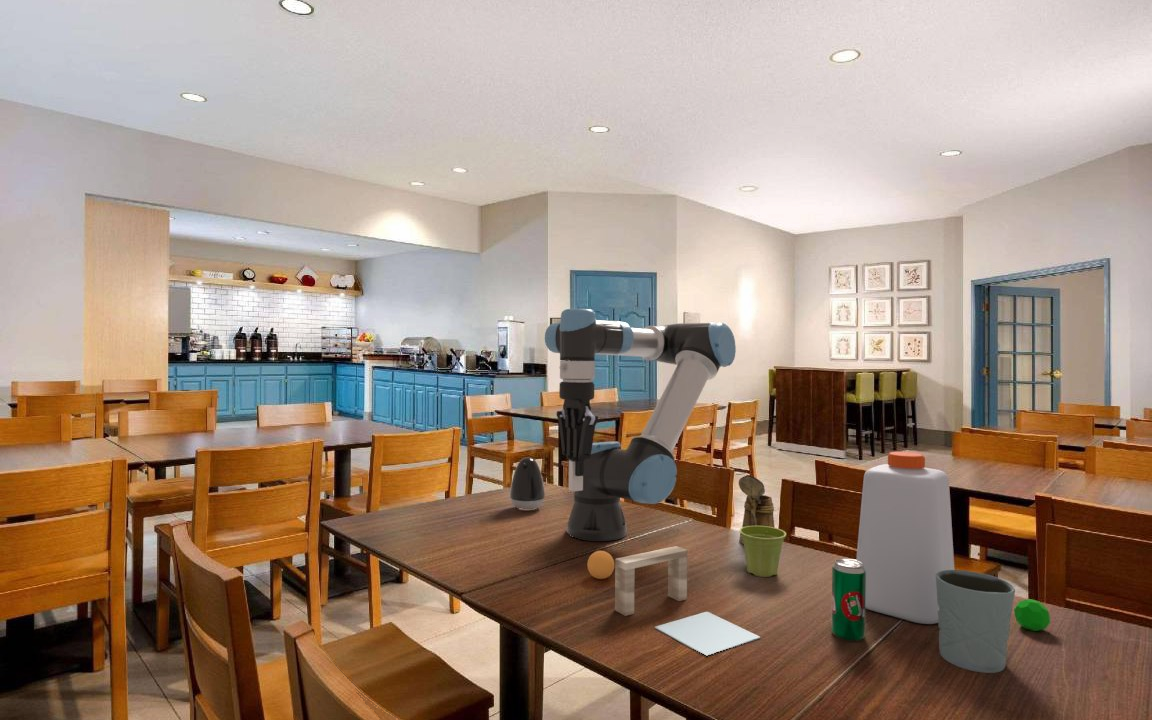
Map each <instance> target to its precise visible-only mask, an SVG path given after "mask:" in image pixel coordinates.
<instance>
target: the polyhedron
mask: <svg viewBox="0 0 1152 720" xmlns="http://www.w3.org/2000/svg"><path fill="white" fill-rule="evenodd" d="M1013 610H1014V617H1015V620H1016V622H1017V623H1018V624H1019V625H1020V626H1021V627H1023V628H1024V629H1025V630H1028V631H1032V632H1036V631H1037V632H1038V631H1041V630H1045V629H1047V628H1048V626H1049V624H1050V623H1051V618H1050V611H1049V609H1048V608H1047V606H1045V605H1044V604H1043V603H1042V602H1040V601H1038V600H1036V599H1031V598H1027V599H1023V600H1020V601H1018V602H1017V604H1016V605H1015V607H1014V609H1013Z"/></svg>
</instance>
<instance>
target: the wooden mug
mask: <svg viewBox="0 0 1152 720" xmlns="http://www.w3.org/2000/svg"><path fill="white" fill-rule="evenodd" d="M738 487H739V489H740V490H741V492H742V493H743V494H745V495H746V499H745V501H744V506H743V507H744V512H743V519H742V526H741V528H743V527H746V526H768V527H774V528H776V525H775V517H774V511H775V507H774V503H773V499H772V497H771V496H769V495H765V491H766V488H765V484H764V483H763V482H762V481H761V480H760V479H758V478H756V477H755V476H752V475H750V474H746V475H744V476H742V477H740V479H739V480H738ZM738 540H739V543H740V544H742V545H744V541H743V539H742V534H741V533H740V532H739V538H738Z"/></svg>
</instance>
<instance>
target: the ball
mask: <svg viewBox="0 0 1152 720" xmlns="http://www.w3.org/2000/svg"><path fill="white" fill-rule="evenodd" d="M586 567H587V570H588V572H589V574H590V575H591V576H592V577H593V578H595V579H598V580H605V579H607V578H609V577H610V576H611V575H612V574H613V572H614V571H615V570H614V569H615V560H614V558H613V556H612V555H611V554H610V553H609V552H608V551H605V550H596V551H594V552H593V553H591V555H590V556H589V557H588V559H587V566H586Z"/></svg>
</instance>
